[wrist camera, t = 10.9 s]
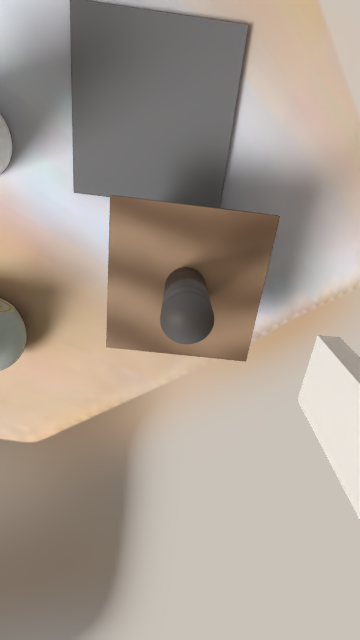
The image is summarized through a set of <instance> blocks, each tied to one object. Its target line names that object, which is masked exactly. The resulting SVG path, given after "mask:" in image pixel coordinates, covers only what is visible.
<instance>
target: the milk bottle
mask: <svg viewBox="0 0 360 640" xmlns="http://www.w3.org/2000/svg"><path fill="white" fill-rule="evenodd" d="M11 155H12V139H11V135H10V132H9V129H8V126H7V124H6V122H5V120H4V119H3V117H2V116H1V114H0V174H1V173H2V172H3V171H4V170H5V169H6V167H7V166H8V164H9V162H10V159H11Z"/></svg>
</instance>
